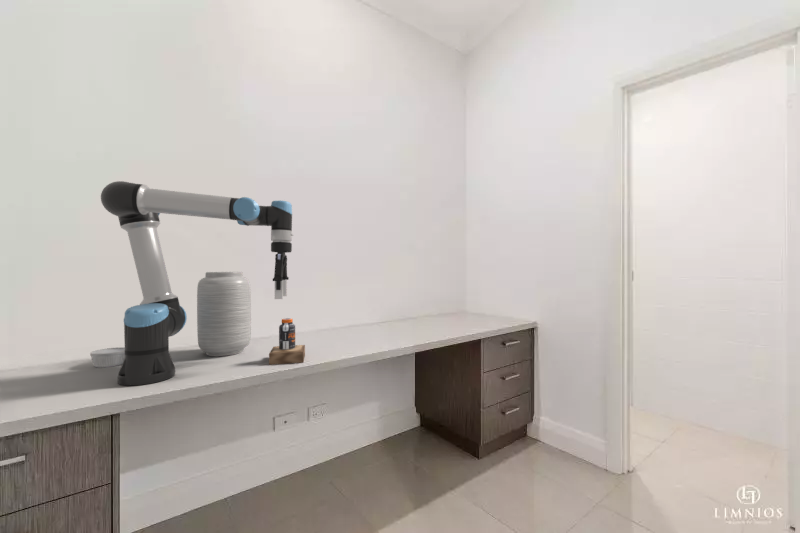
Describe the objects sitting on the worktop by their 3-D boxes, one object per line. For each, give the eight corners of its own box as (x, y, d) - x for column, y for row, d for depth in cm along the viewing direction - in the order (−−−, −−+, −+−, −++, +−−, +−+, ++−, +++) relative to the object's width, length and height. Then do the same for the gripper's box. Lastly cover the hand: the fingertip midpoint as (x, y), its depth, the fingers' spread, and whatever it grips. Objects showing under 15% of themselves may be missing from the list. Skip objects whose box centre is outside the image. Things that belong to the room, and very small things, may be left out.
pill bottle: (290, 350, 136) (290, 320, 136) (276, 349, 137) (275, 319, 137) (298, 346, 142) (297, 317, 142) (284, 346, 143) (283, 317, 143)
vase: (246, 345, 167) (245, 271, 167) (255, 353, 150) (255, 271, 150) (195, 351, 156) (194, 272, 156) (199, 361, 139) (198, 272, 139)
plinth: (269, 364, 132) (269, 352, 132) (273, 356, 144) (273, 345, 144) (303, 362, 135) (303, 351, 135) (305, 354, 147) (304, 344, 147)
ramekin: (134, 359, 142) (133, 346, 142) (122, 366, 132) (121, 352, 132) (99, 362, 139) (99, 348, 139) (84, 370, 128) (84, 355, 128)
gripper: (288, 239, 128) (287, 300, 128) (294, 244, 153) (293, 295, 153) (265, 239, 127) (265, 300, 127) (275, 243, 151) (275, 295, 151)
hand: (280, 297), depth 140 cm, fingers open, 13 cm apart
